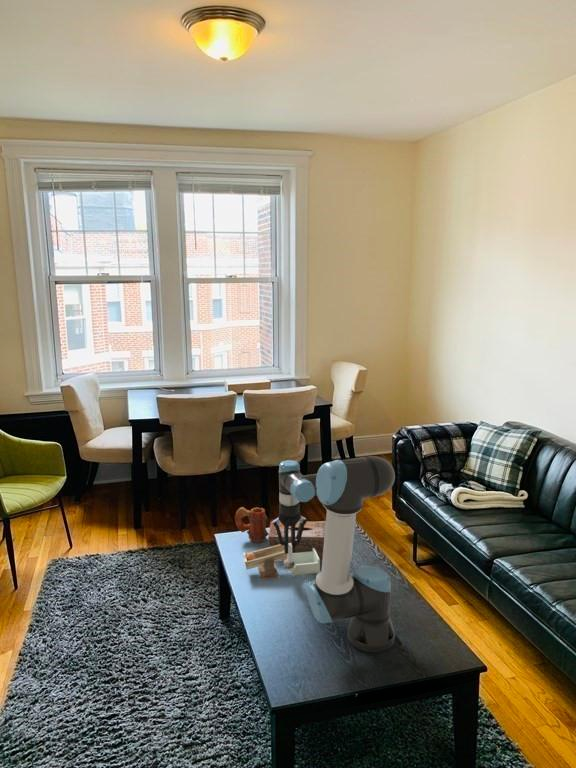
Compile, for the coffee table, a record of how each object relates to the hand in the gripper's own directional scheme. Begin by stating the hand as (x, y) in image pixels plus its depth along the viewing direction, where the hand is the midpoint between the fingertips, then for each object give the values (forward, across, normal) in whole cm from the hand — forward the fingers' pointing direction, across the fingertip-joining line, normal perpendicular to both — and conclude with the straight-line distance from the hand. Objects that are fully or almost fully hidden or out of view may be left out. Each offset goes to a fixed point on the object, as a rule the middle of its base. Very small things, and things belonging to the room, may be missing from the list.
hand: (289, 560), depth 211 cm
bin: (+10, -8, -10) cm, 16 cm away
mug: (+10, +10, -38) cm, 40 cm away
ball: (+3, +14, -10) cm, 17 cm away
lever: (+4, +7, -5) cm, 10 cm away
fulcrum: (+10, +7, -10) cm, 15 cm away
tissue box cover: (+10, -9, -25) cm, 28 cm away
